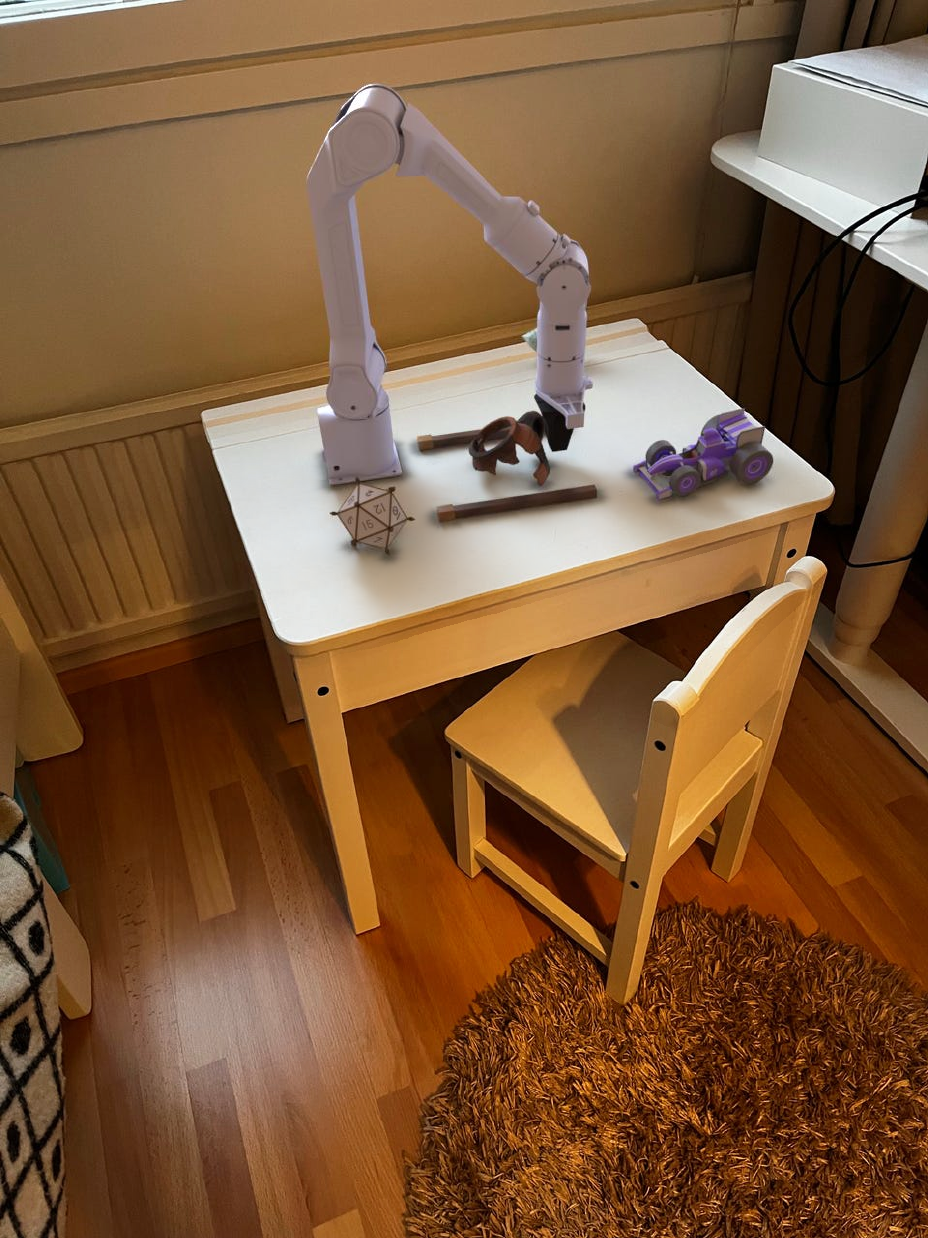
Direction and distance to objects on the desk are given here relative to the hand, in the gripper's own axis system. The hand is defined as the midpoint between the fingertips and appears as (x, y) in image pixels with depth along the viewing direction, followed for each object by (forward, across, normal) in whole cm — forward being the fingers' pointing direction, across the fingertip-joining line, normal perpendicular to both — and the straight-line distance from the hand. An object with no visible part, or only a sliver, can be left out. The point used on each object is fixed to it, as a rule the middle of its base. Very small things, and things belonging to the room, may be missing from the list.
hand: (558, 448), depth 118 cm
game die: (+2, -11, +25) cm, 28 cm away
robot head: (+2, +26, -6) cm, 27 cm away
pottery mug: (+2, 0, +6) cm, 6 cm away
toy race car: (+2, -7, -16) cm, 18 cm away
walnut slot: (+2, 0, +7) cm, 8 cm away
